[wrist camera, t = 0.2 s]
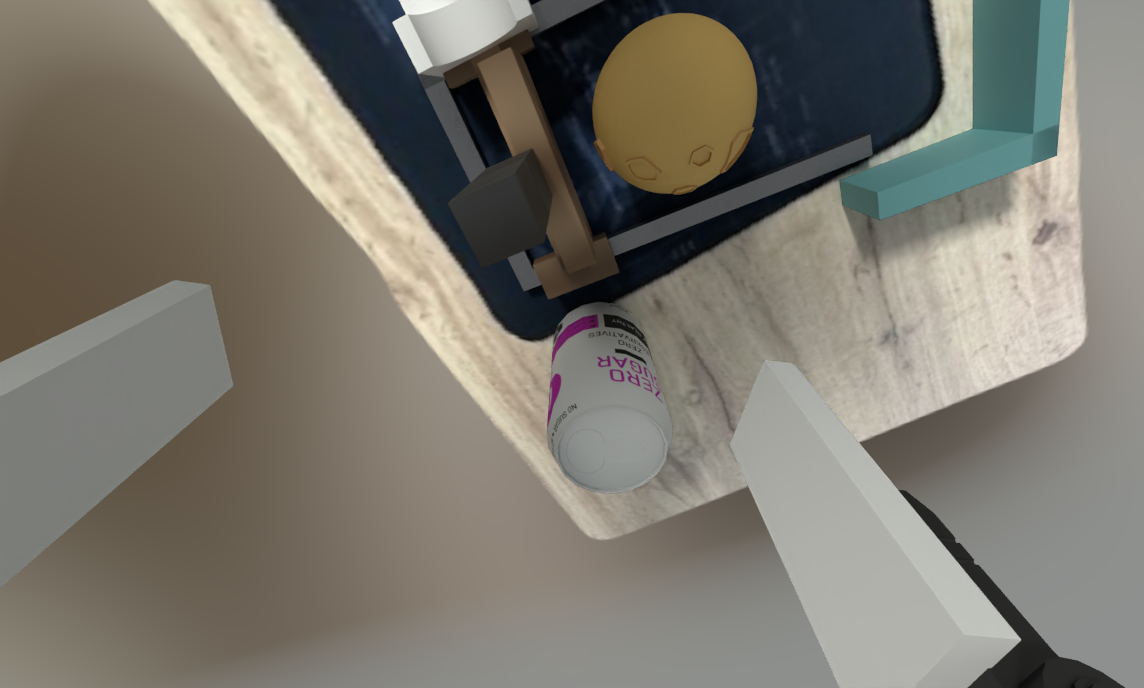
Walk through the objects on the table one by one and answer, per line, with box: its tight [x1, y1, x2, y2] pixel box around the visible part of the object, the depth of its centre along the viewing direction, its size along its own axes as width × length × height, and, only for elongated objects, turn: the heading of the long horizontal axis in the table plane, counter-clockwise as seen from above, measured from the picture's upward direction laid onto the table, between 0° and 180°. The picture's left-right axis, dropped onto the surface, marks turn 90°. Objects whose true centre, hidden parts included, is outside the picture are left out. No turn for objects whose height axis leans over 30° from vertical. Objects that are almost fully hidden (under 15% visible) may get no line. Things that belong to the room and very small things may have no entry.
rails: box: [413, 0, 872, 291], centre depth 33 cm, size 18×28×1 cm, turn 112°
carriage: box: [443, 29, 619, 299], centre depth 27 cm, size 19×6×18 cm, turn 22°
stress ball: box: [592, 13, 757, 194], centre depth 29 cm, size 10×10×10 cm
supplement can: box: [547, 302, 673, 494], centre depth 36 cm, size 8×8×15 cm
